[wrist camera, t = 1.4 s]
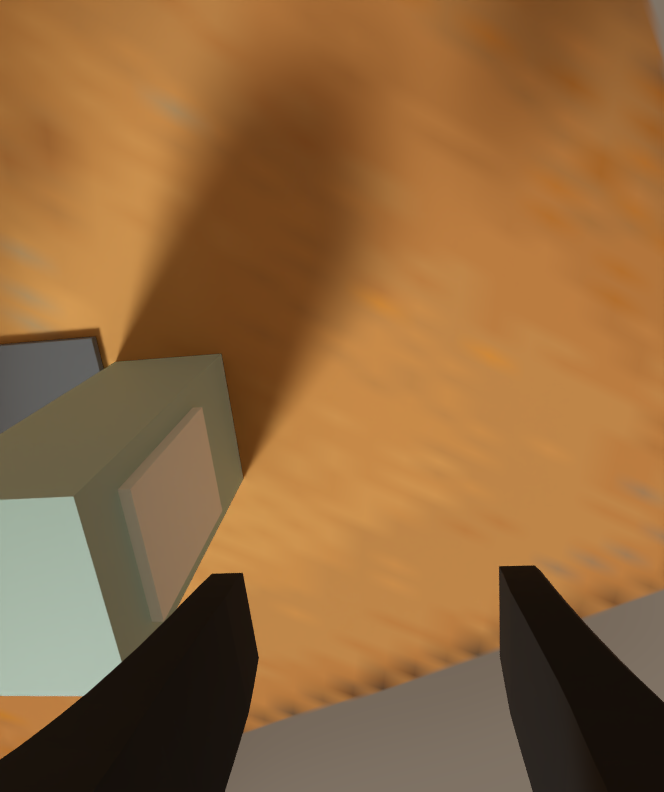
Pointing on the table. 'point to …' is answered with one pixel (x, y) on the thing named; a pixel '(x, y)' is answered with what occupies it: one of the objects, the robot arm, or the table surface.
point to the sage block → (108, 516)
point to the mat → (42, 374)
